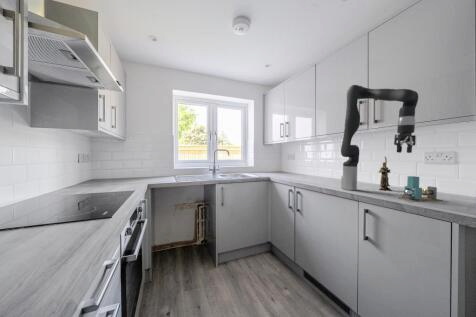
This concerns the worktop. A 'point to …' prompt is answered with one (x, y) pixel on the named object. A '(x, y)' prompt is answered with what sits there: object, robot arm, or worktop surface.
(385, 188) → the figurine
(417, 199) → the board
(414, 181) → the sleeve
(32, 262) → the worktop surface
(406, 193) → the pipe
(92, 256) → the worktop surface
